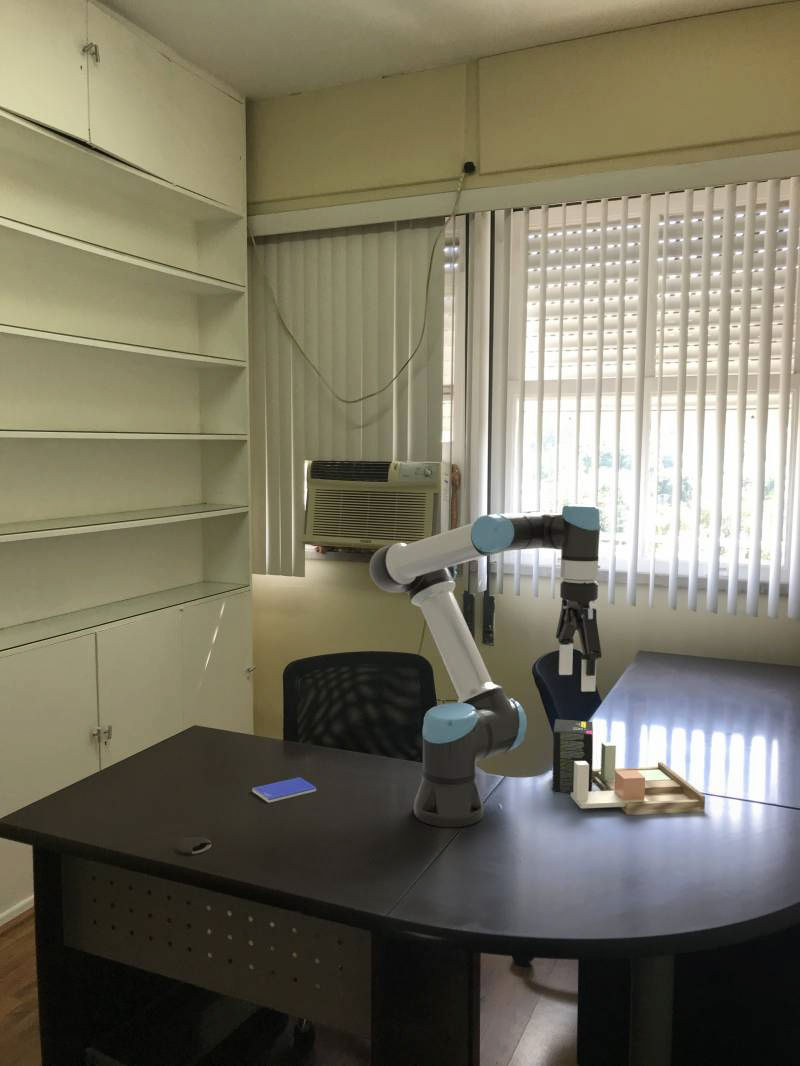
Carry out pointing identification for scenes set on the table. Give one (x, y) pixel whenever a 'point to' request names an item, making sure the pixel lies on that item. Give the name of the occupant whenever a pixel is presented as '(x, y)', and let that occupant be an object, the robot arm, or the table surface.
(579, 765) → the strip cream
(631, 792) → the cube
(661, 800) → the lane board
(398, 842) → the table surface
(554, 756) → the tampon box
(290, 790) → the hard drive
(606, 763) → the pale green l-shaped bracket
